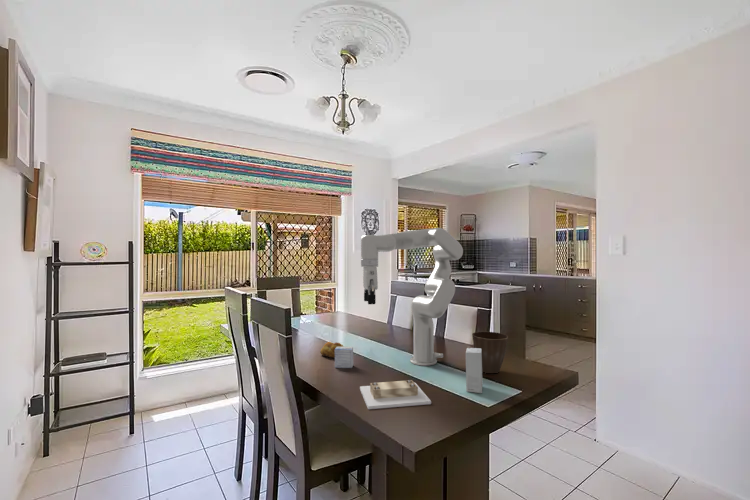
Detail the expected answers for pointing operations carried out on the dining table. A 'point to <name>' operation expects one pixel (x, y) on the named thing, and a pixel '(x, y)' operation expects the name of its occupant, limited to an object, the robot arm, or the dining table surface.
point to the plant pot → (491, 349)
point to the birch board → (393, 389)
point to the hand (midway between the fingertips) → (369, 302)
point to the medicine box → (343, 357)
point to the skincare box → (474, 370)
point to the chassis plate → (393, 399)
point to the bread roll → (330, 349)
